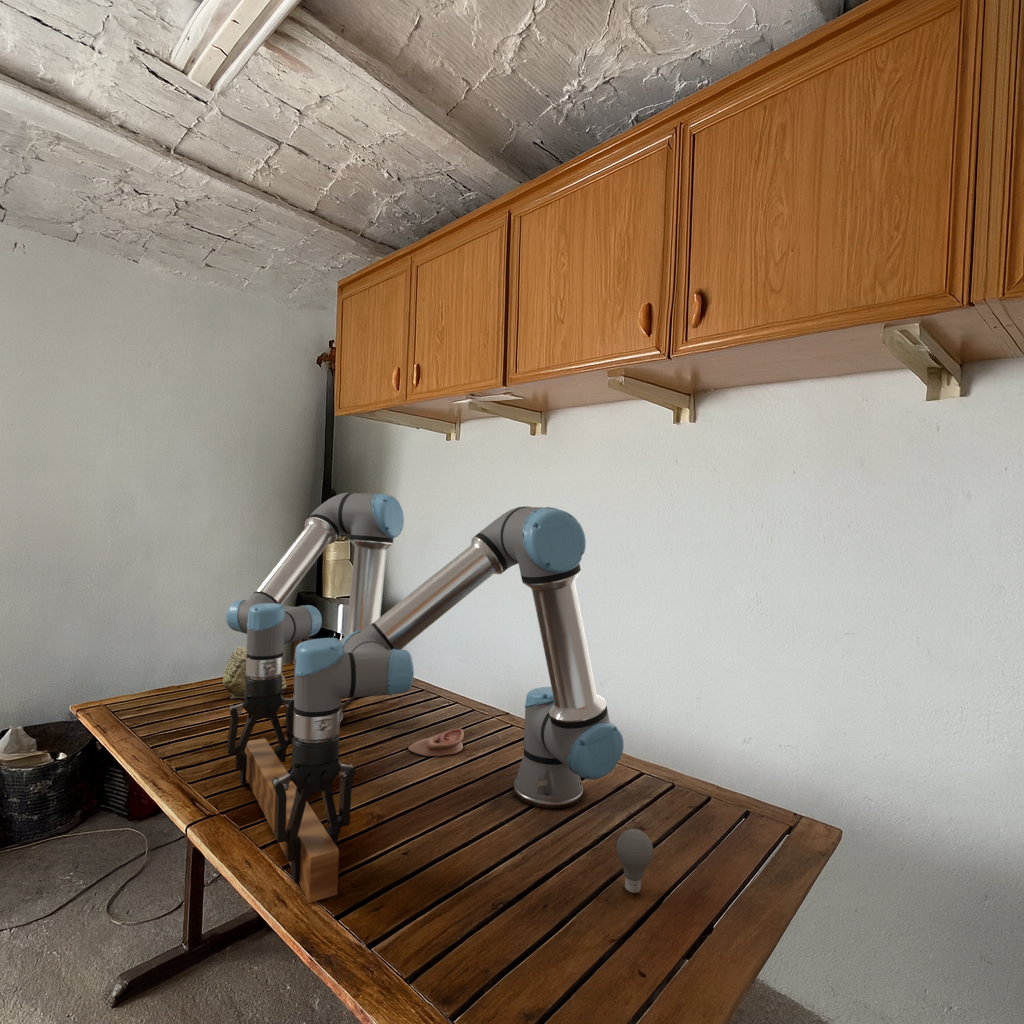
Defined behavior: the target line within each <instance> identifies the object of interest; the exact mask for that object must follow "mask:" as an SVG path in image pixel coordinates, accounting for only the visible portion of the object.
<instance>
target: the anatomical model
mask: <svg viewBox="0 0 1024 1024" xmlns="http://www.w3.org/2000/svg"><path fill="white" fill-rule="evenodd" d="M464 738H465V733H464V730H463V729H462V728H453V729H450V730H447V731H443V732H441V733H438V734H435V735H433V736H431V737H427V738H422V739H420V740H417V741H414V743H412V744H410V745H409V746H408V750H409V751H410V752H412V753H414V754H417V755H420V756H424V757H440V756H449V755H453V754H458V753H459V752H461V751H463V748H464V746H463V742H462V741H463V740H464Z"/></svg>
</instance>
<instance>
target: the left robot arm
mask: <svg viewBox="0 0 1024 1024" xmlns="http://www.w3.org/2000/svg"><path fill="white" fill-rule="evenodd" d="M404 522H405V517H404V511H403V508H402V506H401V504H400V502H399V500H398V499H397V498H396V497H395V496H393V495H389V494H383V493H360V492H357V493H356V492H342V493H339V494H337V495H334V496H332V497H330V498H328V499H327V500H325V501H324V502H323V503H321V504H320V505H319V506H318V507H316V509H315V510H313V512H311V514H310V515H309V516H308V517H307V518H306V519H305V521H304V528H303V530H302V531H301V532H300V534H298V536H297V537H296V539H294V541H293V542H292V543H291V545H290V546H289V547H288V548H287V550H286V551H285V552H284V553H283V555H281V557H280V559H279V560H277V562H276V564H275V565H273V567H272V568H271V569H270V570H269V572H268V573H267V575H266V576H265V577H264V579H263V580H262V581H261V582H260V583H259V585H257V587H256V588H255V590H254V591H253V592H252V594H251V595H250V596H249V597H248V599H247V600H246V599H241V600H236V601H234V602H233V603H231V604H230V606H229V607H228V609H227V611H226V624H227V626H228V627H229V629H231V630H233V631H234V632H238V633H242V634H244V635H245V634H246V647H247V657H246V675H247V676H248V677H247V678H246V679H245V698H243V700H242V702H241V703H239V704H236V705H234V704H230V705H229V706H228V711H229V714H230V720H229V727H228V734H227V742H226V751H227V753H228V755H231V756H232V755H235V764H234V765H235V769H236V771H237V772H238V771H239V783H240V785H241V787H246V786H247V779H246V771H247V755H246V753H245V748H246V745H247V743H248V741H250V738H251V735H252V732H253V730H254V727H255V725H256V724H257V721H260V720H262V719H270V721H271V726H272V727H273V731H274V734H275V737H276V740H277V742H278V745H275V746H274V752H275V754H276V755H277V757H278V758H279V760H280V761H281V763H285V762H286V760H287V749H288V747H289V746H291V745H292V742H293V738H294V737H295V736H294V735H293V718H294V695H292V696H293V697H288V698H287V697H284V696H283V693H282V676H281V675H280V674H281V673H282V674H283V668H284V667H283V665H284V645H286V644H289V643H293V642H296V641H300V640H304V641H302V642H299V643H298V644H297V645H296V647H295V652H294V653H295V654H294V657H293V659H294V661H293V662H294V668H293V669H294V670H293V690H294V689H295V669H296V658H297V650H298V648H299V647H300V646H301V645H302V644H303V643H306V642H309V641H315V640H327V641H328V640H332V641H337V642H340V643H341V644H342V642H343V640H344V639H345V638H346V637H347V636H348V635H349V634H351V633H353V632H356V631H363V630H364V629H366V628H367V627H368V626H370V625H371V624H372V623H374V622H375V621H376V620H378V619H379V618H380V617H381V612H382V602H383V594H384V593H383V592H384V582H385V572H386V561H387V553H388V552H387V551H388V549H390V548H391V547H392V546H393V545H394V539H395V538H397V537H399V536H400V535H401V534H402V531H403V529H404V525H405V524H404ZM343 535H350V537H349V541H350V543H351V544H352V545H353V547H354V554H353V561H352V562H353V563H352V573H351V584H350V592H349V602H348V612H347V621H346V631H345V635H344V637H343V638H342V639H340V640H339V638H337V637H321V638H313V639H308V638H309V637H312V636H315V635H316V634H318V633H319V631H320V630H321V629H322V624H323V618H322V613H321V612H320V610H319V609H318V608H317V607H315V606H314V605H310V604H308V605H307V604H306V605H303V604H302V605H301V604H300V605H299V606H290V605H284V604H285V603H286V601H287V600H288V599H289V597H290V596H291V595H292V594H293V592H294V591H295V589H296V588H297V587H298V585H299V584H300V583H301V581H302V579H304V577H305V576H306V575H307V573H308V572H309V571H310V570H311V568H312V566H313V565H314V564H315V563H316V561H317V560H318V559H319V557H320V556H321V555H322V553H323V552H324V551H325V549H326V548H327V547H328V545H331V544H334V543H335V542H336V541H337V539H338V538H339V537H341V536H343ZM306 639H307V640H306ZM358 698H359V697H354V698H347V700H346V701H345V702H344V703H342V704H341V710H340V725H342V723H343V722H344V714H343V709H342V708H345V707H346V706H347V705H348V704H349V703H350V702H351V701H353V700H355V699H358ZM282 705H283V707H284V709H285V727H286V728H285V729H286V737H285V735H284V732H283V729H282V726H281V723H280V719H279V717H278V714H277V713H278V711H279V709H280V708H281V707H282ZM243 710H245V712H246V713H247V716H246V719H245V720H246V721H245V723H244V726H243V729H242V730H241V731H242V732H241V734H240V736H239V739H238V742H237V736H238V730H239V722H240V719H239V717H240V716H241V715H242V711H243Z"/></svg>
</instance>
